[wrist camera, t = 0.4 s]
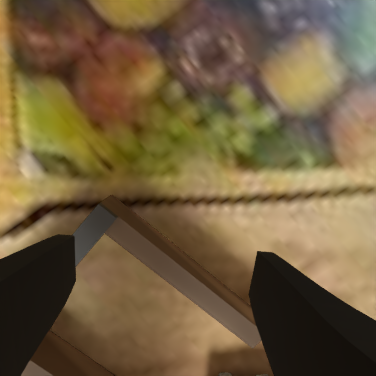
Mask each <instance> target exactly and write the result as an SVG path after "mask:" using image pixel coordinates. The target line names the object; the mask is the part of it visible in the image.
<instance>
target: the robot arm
mask: <svg viewBox="0 0 376 376" xmlns="http://www.w3.org/2000/svg"><path fill="white" fill-rule="evenodd" d="M75 282H76V268H75V236H72V235H60V234H58V235H55V236H52V237H50V238H47V239H45V240H43V241H40V242H38V243H36V244H34V245H31V246H29V247H27V248H25V249H22V250H20V251H18V252H16V253H13V254H11V255H9V256H7V257H4V258H2V259H0V376H21V374H22V373H23V371H24V369H25V368H26V366H27V364H28V363H29V361H30V359H31V358H32V356H33V355H34V353H35V352H36V350H37V348H38V347H39V345H40V344H41V342H42V341H43V339H44V337H45V336H46V334H47V333H48V331H49V329H50V328H51V326H52V325H53V323H54V322H55V320H56V318H57V317H58V315H59V314H60V312H61V310H62V309H63V307H64V305H65V303H66V301H67V299H68V297H69V295H70V293H71V291H72V288H73V286H74V284H75ZM249 298H250V303H251V308H252V312H253V317H254V320H255V323H256V326H257V329H258V332H259V335H260V338H261V340H262V343H263V346H264V349H265V352H266V354H267V357H268V360H269V363H270V365H271V368H272V371H273V374H274V376H376V320H374V319H372V318H370V317H369V316H367V315H365V314H363V313H362V312H360V311H358V310H356V309H355V308H353V307H351V306H350V305H348V304H347V303H345V302H343V301H342V300H340V299H339V298H337V297H336V296H334V295H333V294H331V293H330V292H328V291H327V290H325V289H324V288H322V287H321V286H319V285H318V284H317V283H315V282H314V281H312V280H311V279H310V278H308V277H307V276H305V275H304V274H303V273H301V272H300V271H299V270H297V269H296V268H294V267H293V266H292V265H290V264H289V263H288V262H286V261H285V260H283V259H282V258H281V257H279V256H278V255H276V254H274V253H273V252H261V251H257V256H256V261H255V266H254V271H253V276H252V280H251V285H250V290H249Z"/></svg>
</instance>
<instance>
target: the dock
mask: <svg viewBox="0 0 376 376" xmlns="http://www.w3.org/2000/svg"><path fill="white" fill-rule="evenodd" d="M104 233H105V234H107V235H108V236H109V237H110V238H112V239H113V240H114V241H115V242H117V243H118V244H119V245H121V246H122V247H123V248H124V249H126V250H127V251H128V252H130V253H131V254H132V255H133V256H135V257H136V258H137V259H139V260H140V261H141V262H142V263H144V264H145V265H146V266H148V267H149V268H150V269H151V270H153V271H154V272H155V273H157V274H158V275H159V276H160V277H162V278H163V279H164V280H166V281H167V282H168V283H169V284H171V285H172V286H173V287H175V288H176V289H177V290H178V291H180V292H181V293H182V294H183V295H185V296H186V297H187V298H189V299H190V300H191V301H192V302H194V303H195V304H196V305H198V306H199V307H200V308H201V309H203V310H204V311H205V312H207V313H208V314H209V315H210V316H212V317H213V318H214V319H216V320H217V321H218V322H219V323H221V324H222V325H223V326H225V327H226V328H227V329H228V330H230V331H231V332H232V333H234V334H235V335H236V336H237V337H239V338H240V339H241V340H242V341H244V342H245V343H246V344H248V345H249V346H250V347H251V348H254V347H255V346H256V345H257V344H258V343H259V342H260V341H261V338H260V335H259V332H258V329H257V326H256V323H255V320H254V317H253V312H252V308H251V306H249V305H248V304H247V303H246V302H244V301H243V300H242V299H241V298H240V297H238V296H237V295H236V294H235V293H233V292H232V291H231V290H230V289H228V288H227V287H226V286H225V285H223V284H222V283H221V282H220V281H218V280H217V279H216V278H215V277H214V276H212V275H211V274H210V273H209V272H207V271H206V270H205V269H204V268H202V267H201V266H200V265H199V264H197V263H196V262H195V261H194V260H193V259H191V258H190V257H189V256H188V255H186V254H185V253H184V252H183V251H181V250H180V249H179V248H178V247H176V246H175V245H174V244H173V243H171V242H170V241H169V240H168V239H167V238H165V237H164V236H163V235H162V234H160V233H159V232H158V231H157V230H155V229H154V228H153V227H152V226H150V225H149V224H148V223H147V222H145V221H144V220H143V219H142V218H141V217H139V216H138V215H137V214H136V213H134V212H133V211H132V210H131V209H129V208H128V207H127V206H126V205H124V204H123V203H122V202H121V201H120V200H118V199H117V198H116V197H115V196H113V195H110V196H109V197H108V198H106V199H105V200H103V201H102V202H100V203H99V204H98V205H97V206H96V207H95V209H94V210H93V211H92V212H91V213H90V214H89V216H88V217H87V218H86V219H85V220H84V222H83V223H82V224H81V225H80V226H79V228H78V229H77V230H76V231H75V232H74V234H73V235H72V236H75V267H76V266H77V265H78V263H79V262H80V261H81V260H82V259H83V258H84V256H85V255H86V254H87V253H88V252H89V251H90V249H91V248H92V247H93V246H94V245H95V244H96V242H97V241H98V240H99V239H100V238H101V237H102V235H103V234H104ZM21 376H115V375H113V374H112V373H110V372H109V371H107V370H106V369H104V368H103V367H102V366H100V365H99V364H97V363H96V362H94V361H93V360H91V359H90V358H89V357H87V356H86V355H84V354H83V353H81V352H80V351H78V350H77V349H76V348H74V347H73V346H71V345H70V344H68V343H67V342H65V341H64V340H63V339H61V338H60V337H58V336H57V335H55V334H54V333H52V332H51V331H50V330H49V331H48V333H47V334H46V336H45V337H44V339H43V341H42V342H41V344H40V345H39V347H38V348H37V350H36V352H35V353H34V355H33V356H32V358H31V359H30V361H29V363H28V364H27V366H26V368H25V369H24V371H23V373H22V374H21Z"/></svg>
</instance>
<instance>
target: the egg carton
mask: <svg viewBox="0 0 376 376" xmlns="http://www.w3.org/2000/svg"><path fill="white" fill-rule="evenodd" d="M218 376H231V373H227V372H226V373H225V372H224V373H219V375H218ZM256 376H268V374H262V375H256Z"/></svg>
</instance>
